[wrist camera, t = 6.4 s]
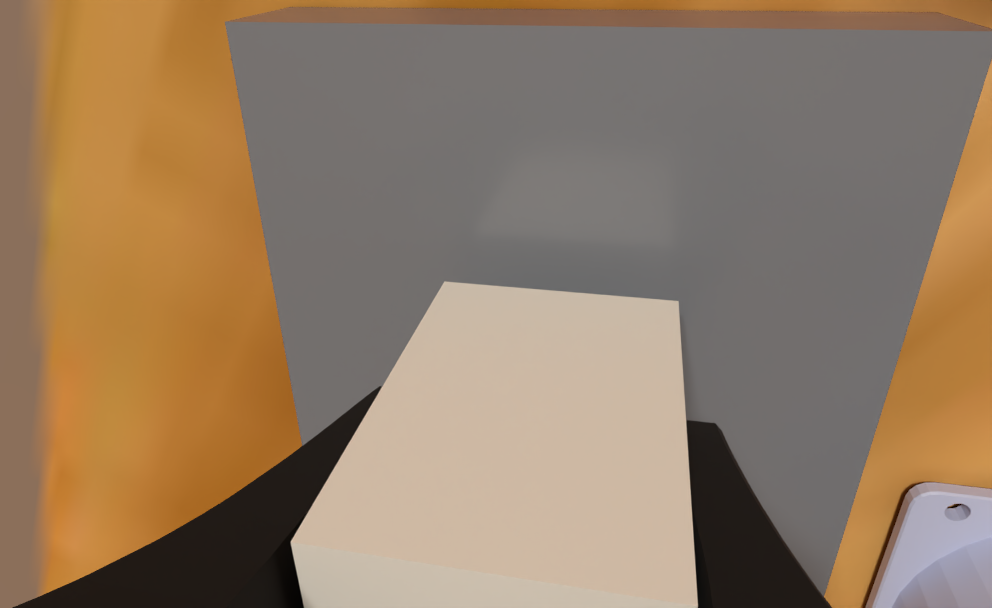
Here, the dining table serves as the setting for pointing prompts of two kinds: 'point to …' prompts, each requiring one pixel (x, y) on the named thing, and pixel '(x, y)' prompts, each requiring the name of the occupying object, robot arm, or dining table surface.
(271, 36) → the tile
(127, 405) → the dining table surface
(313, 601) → the block
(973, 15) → the dining table surface
